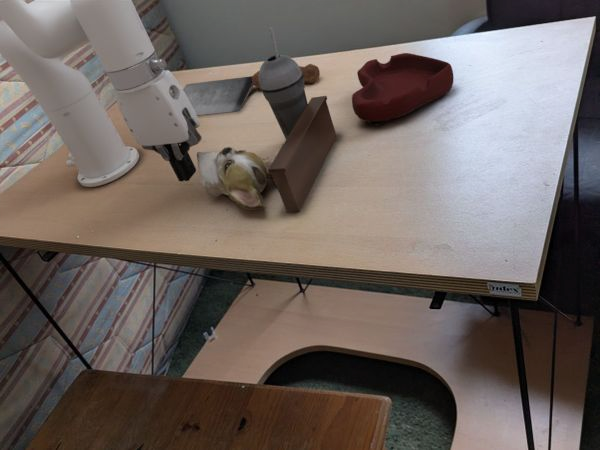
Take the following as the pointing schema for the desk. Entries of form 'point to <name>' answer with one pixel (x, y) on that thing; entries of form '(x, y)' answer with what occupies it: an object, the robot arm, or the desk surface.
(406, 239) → the desk surface
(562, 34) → the desk surface
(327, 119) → the backboard
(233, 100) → the meat cleaver
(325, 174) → the desk surface
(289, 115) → the beverage cup
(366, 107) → the ashtray
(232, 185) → the ceramic sculpture
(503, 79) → the desk surface
